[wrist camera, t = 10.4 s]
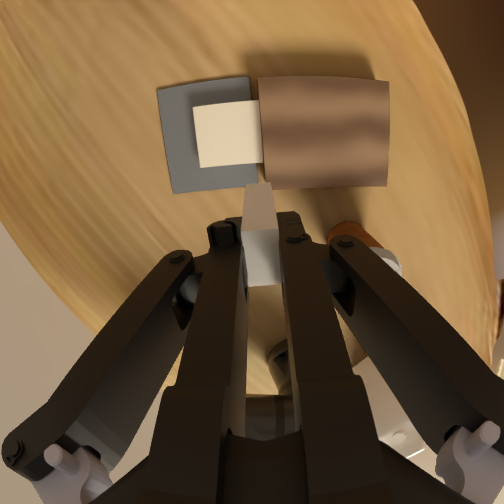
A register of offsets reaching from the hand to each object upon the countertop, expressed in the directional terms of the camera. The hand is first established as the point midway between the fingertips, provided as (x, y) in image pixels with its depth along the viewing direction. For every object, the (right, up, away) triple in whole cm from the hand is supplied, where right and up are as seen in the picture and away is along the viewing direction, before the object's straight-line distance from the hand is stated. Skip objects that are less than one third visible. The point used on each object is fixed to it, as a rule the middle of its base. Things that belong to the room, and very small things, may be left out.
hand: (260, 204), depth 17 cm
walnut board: (+9, +13, +17) cm, 23 cm away
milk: (+31, -29, +42) cm, 60 cm away
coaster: (-3, +12, +17) cm, 21 cm away
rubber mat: (-6, +12, +17) cm, 22 cm away
